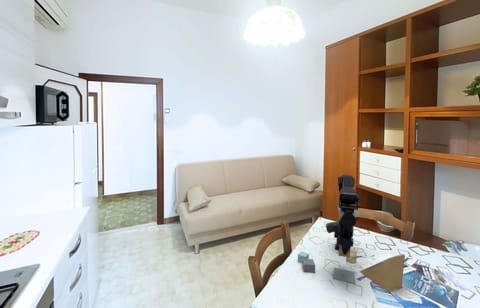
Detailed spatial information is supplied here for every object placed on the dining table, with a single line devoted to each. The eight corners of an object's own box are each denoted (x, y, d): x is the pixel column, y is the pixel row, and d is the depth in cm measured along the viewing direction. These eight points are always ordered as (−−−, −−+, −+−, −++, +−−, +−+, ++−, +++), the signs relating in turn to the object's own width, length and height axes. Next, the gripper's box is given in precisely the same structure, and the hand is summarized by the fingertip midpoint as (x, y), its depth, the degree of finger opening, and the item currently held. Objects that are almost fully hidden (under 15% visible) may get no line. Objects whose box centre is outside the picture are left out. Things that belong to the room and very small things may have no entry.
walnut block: (339, 250, 115) (339, 240, 115) (349, 253, 114) (350, 242, 113) (338, 255, 111) (339, 244, 111) (349, 257, 110) (350, 246, 109)
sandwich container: (372, 267, 120) (374, 238, 118) (402, 287, 106) (405, 254, 104) (358, 271, 117) (360, 241, 115) (387, 292, 103) (390, 257, 101)
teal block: (301, 258, 128) (301, 251, 127) (308, 261, 125) (308, 253, 125) (297, 261, 125) (297, 254, 124) (305, 264, 122) (305, 257, 122)
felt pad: (334, 267, 119) (334, 267, 119) (354, 272, 116) (354, 271, 116) (332, 278, 111) (332, 277, 111) (354, 283, 108) (354, 283, 108)
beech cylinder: (346, 257, 129) (347, 248, 128) (355, 259, 127) (356, 250, 126) (346, 262, 125) (347, 252, 124) (356, 264, 123) (356, 254, 122)
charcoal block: (301, 266, 121) (302, 258, 120) (312, 267, 120) (312, 259, 120) (303, 272, 116) (304, 264, 115) (314, 273, 115) (315, 265, 115)
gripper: (329, 209, 122) (327, 240, 124) (325, 222, 105) (323, 257, 107) (354, 213, 118) (352, 244, 120) (354, 227, 101) (351, 264, 103)
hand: (344, 252), depth 112 cm, fingers closed on walnut block, 4 cm apart
